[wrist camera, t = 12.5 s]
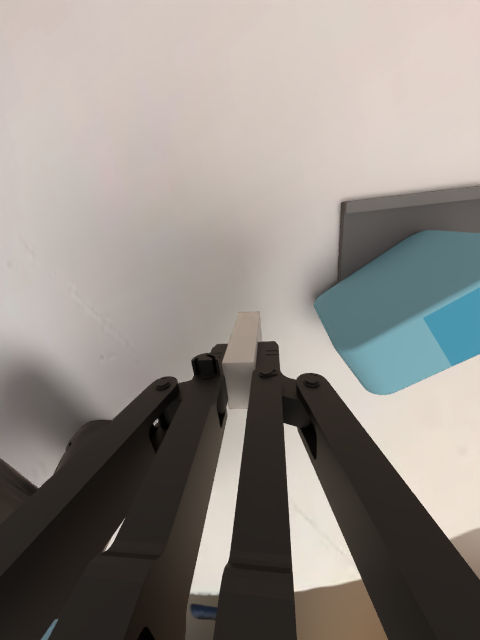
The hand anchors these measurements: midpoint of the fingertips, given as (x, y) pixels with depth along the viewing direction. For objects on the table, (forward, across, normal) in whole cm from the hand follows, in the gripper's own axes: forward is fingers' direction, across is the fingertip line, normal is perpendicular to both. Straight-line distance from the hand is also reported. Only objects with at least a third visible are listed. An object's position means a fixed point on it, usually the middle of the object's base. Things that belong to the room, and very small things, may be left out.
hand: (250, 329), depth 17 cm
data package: (+11, +12, 0) cm, 16 cm away
